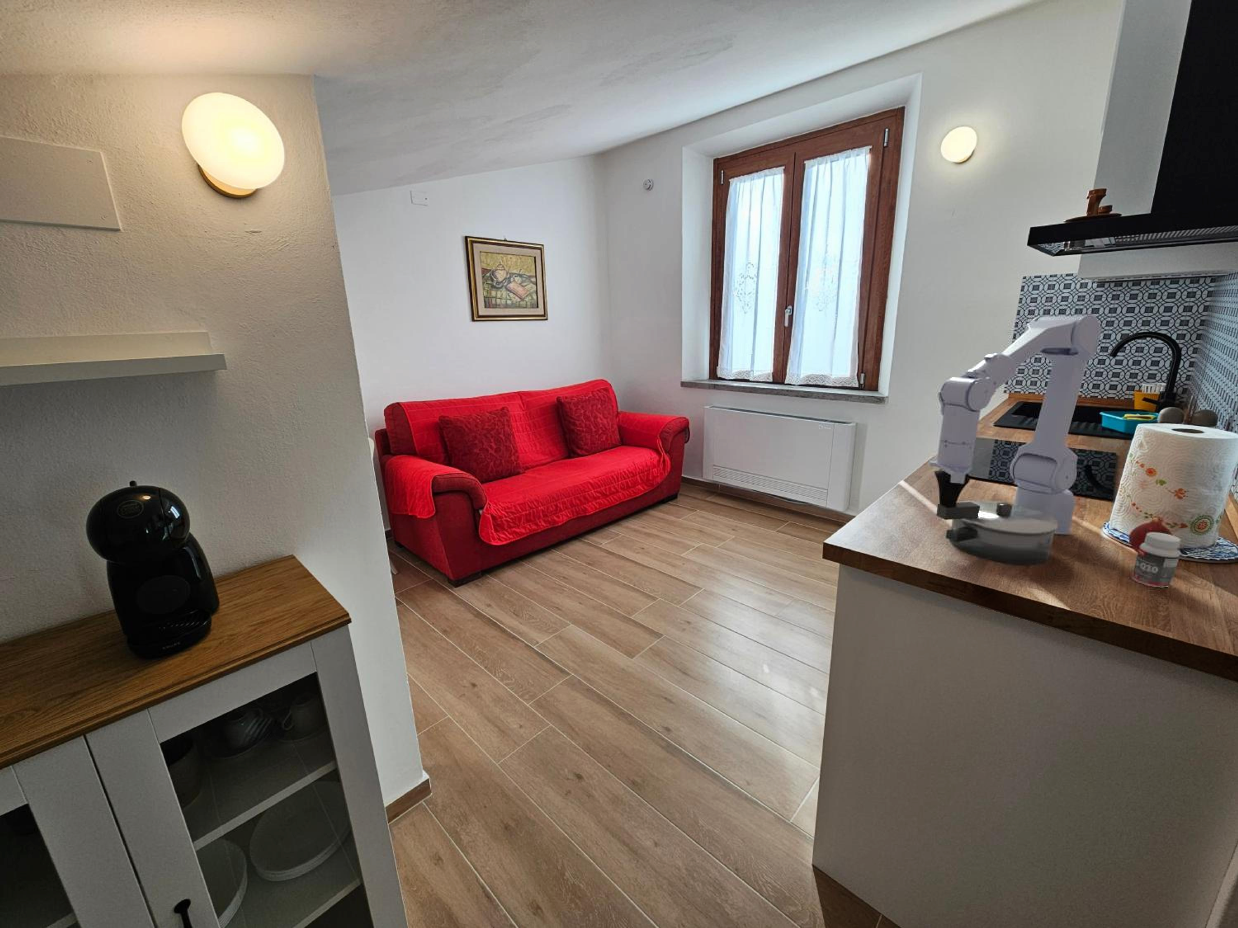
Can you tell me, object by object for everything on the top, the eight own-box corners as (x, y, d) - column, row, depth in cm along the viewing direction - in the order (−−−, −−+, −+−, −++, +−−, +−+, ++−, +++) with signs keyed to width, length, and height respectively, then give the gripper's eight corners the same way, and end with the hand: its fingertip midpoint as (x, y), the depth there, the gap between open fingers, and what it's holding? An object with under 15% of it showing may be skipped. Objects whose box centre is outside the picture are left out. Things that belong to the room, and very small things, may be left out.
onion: (1177, 566, 94) (1189, 525, 91) (1139, 564, 95) (1150, 523, 93) (1152, 553, 99) (1163, 513, 97) (1117, 551, 100) (1126, 512, 98)
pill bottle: (1123, 576, 91) (1134, 531, 88) (1148, 574, 91) (1160, 530, 89) (1152, 589, 86) (1165, 543, 84) (1178, 588, 86) (1192, 541, 84)
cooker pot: (986, 526, 113) (991, 500, 111) (1069, 556, 98) (1075, 526, 97) (912, 541, 106) (916, 514, 105) (989, 575, 92) (995, 544, 90)
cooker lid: (1006, 501, 110) (1009, 486, 109) (1081, 531, 94) (1085, 514, 94) (912, 507, 108) (914, 492, 107) (972, 539, 92) (975, 521, 92)
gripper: (929, 432, 107) (920, 494, 111) (936, 447, 94) (926, 517, 98) (969, 434, 104) (959, 499, 108) (983, 450, 92) (970, 523, 95)
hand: (946, 508), depth 103 cm, fingers closed
